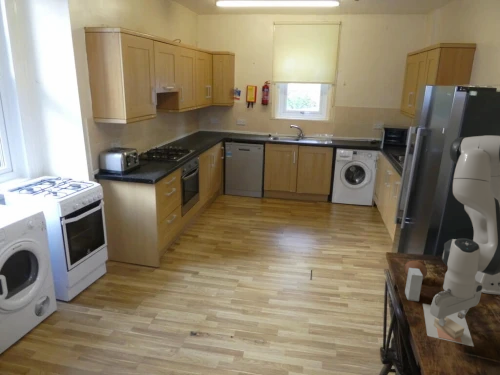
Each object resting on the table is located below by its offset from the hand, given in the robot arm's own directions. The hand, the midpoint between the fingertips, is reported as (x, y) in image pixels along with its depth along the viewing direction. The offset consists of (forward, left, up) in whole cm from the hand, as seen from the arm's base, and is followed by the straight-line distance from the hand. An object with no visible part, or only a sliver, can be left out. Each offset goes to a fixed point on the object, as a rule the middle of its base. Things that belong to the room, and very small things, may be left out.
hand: (451, 321), depth 123 cm
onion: (+10, -34, -5) cm, 36 cm away
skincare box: (+11, -18, -5) cm, 22 cm away
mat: (+1, -4, -5) cm, 6 cm away
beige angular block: (+1, 0, -4) cm, 4 cm away
